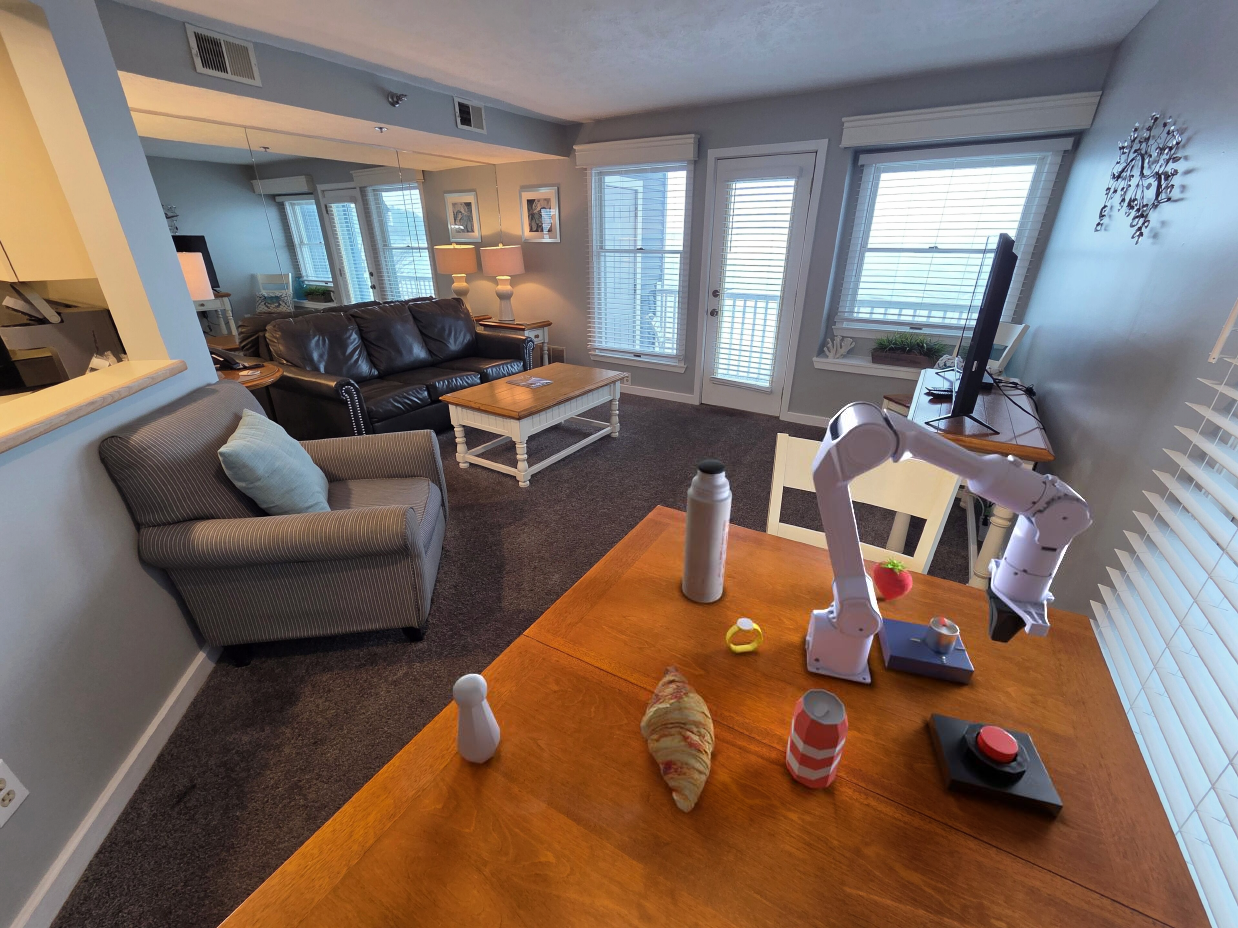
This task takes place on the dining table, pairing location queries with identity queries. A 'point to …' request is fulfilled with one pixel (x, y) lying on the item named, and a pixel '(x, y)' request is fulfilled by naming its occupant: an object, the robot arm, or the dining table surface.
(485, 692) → the salt shaker
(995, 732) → the button
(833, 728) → the beverage can
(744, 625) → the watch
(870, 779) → the dining table surface
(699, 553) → the thermos bottle
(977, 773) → the button box
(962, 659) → the dial panel
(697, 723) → the croissant
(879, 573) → the strawberry
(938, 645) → the dial knob
